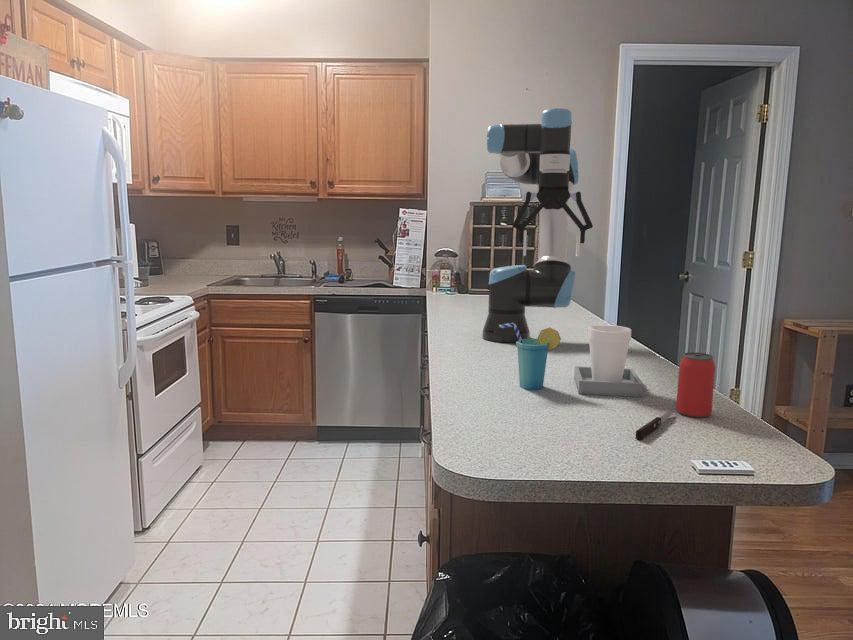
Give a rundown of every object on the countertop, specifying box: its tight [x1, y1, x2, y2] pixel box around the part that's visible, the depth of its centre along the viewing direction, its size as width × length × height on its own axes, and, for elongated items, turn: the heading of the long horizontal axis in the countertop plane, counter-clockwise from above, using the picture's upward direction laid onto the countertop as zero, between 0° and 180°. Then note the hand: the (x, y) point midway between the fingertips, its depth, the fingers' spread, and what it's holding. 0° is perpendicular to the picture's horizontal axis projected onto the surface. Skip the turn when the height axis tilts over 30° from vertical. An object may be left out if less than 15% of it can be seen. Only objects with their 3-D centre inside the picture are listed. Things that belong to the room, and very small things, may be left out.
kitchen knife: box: [635, 411, 673, 441], centre depth 115 cm, size 18×1×2 cm, turn 140°
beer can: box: [675, 351, 716, 418], centre depth 123 cm, size 7×7×12 cm
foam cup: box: [587, 324, 632, 382], centre depth 141 cm, size 10×9×13 cm
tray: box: [573, 365, 644, 398], centre depth 142 cm, size 14×14×3 cm
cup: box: [499, 323, 562, 391], centre depth 141 cm, size 14×8×15 cm, turn 86°
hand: (550, 256), depth 160 cm, fingers open, 13 cm apart
